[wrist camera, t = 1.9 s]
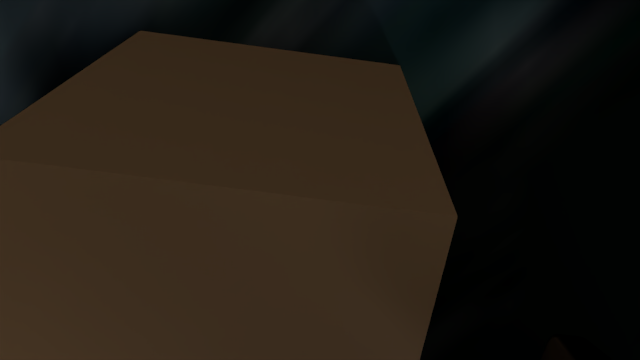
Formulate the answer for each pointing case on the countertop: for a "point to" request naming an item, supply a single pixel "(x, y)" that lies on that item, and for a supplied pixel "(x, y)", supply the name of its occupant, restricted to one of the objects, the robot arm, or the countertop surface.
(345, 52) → the countertop surface
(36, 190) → the brown cardboard cube
